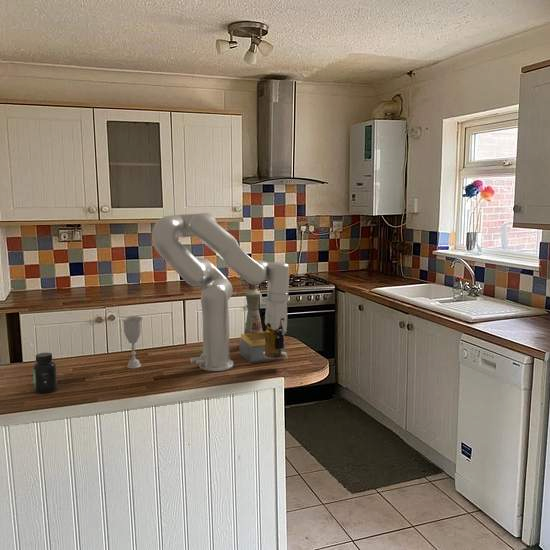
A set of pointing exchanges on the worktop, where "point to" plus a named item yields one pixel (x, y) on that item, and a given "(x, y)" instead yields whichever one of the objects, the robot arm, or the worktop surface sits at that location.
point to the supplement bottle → (44, 374)
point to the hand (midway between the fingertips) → (275, 345)
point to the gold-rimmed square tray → (254, 347)
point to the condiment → (272, 345)
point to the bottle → (253, 310)
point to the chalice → (132, 336)
